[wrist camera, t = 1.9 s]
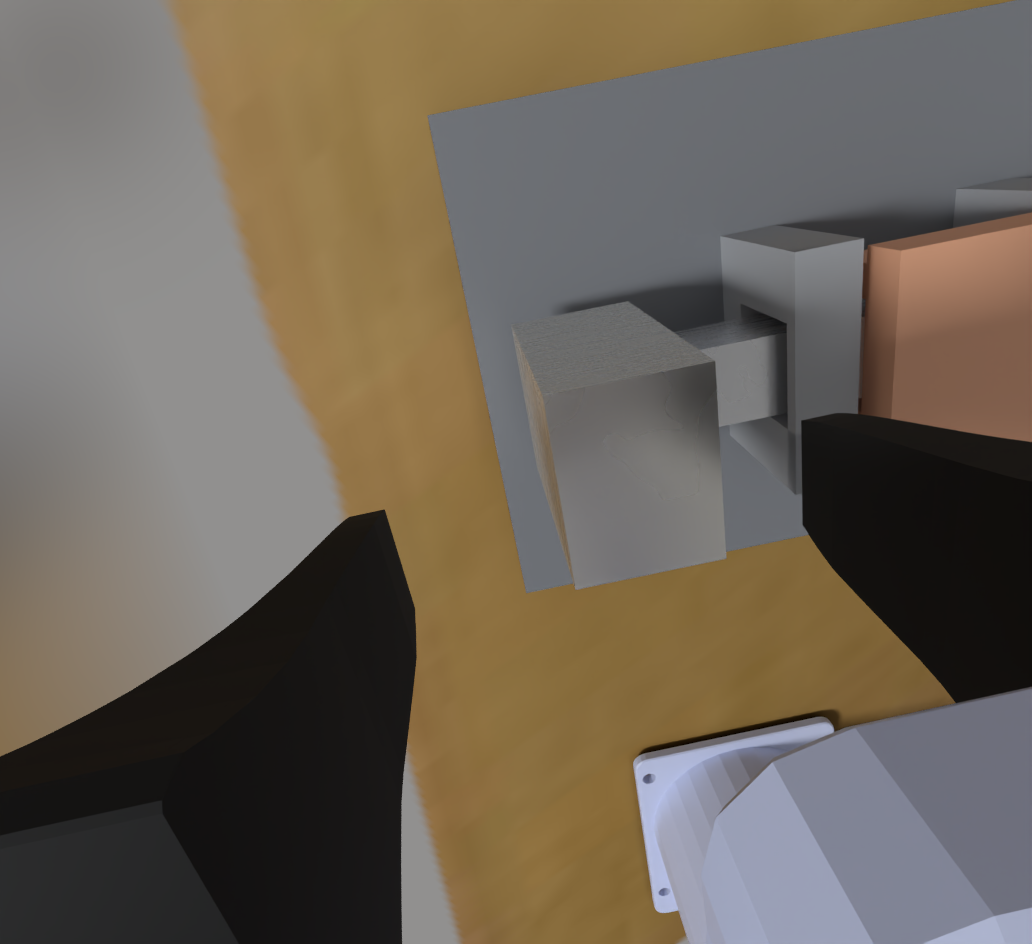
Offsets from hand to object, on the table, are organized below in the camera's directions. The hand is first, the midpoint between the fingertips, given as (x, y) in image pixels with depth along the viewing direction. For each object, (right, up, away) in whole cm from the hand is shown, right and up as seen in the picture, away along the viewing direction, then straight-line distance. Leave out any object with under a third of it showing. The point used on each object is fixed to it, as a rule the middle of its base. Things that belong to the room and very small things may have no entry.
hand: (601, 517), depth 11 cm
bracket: (+5, +5, +9) cm, 11 cm away
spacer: (+9, +4, +6) cm, 11 cm away
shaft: (+5, +4, +6) cm, 9 cm away
